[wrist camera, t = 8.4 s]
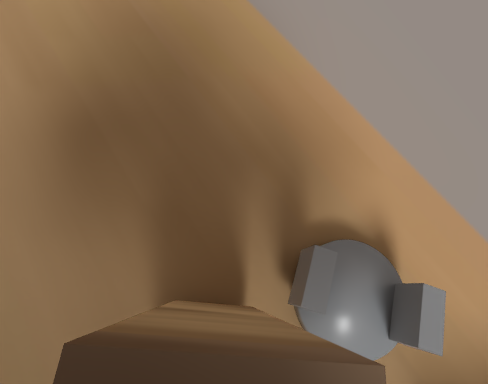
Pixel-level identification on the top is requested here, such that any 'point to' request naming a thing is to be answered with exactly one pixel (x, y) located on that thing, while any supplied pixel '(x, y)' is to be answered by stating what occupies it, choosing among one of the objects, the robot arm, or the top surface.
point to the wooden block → (210, 351)
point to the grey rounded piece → (364, 301)
